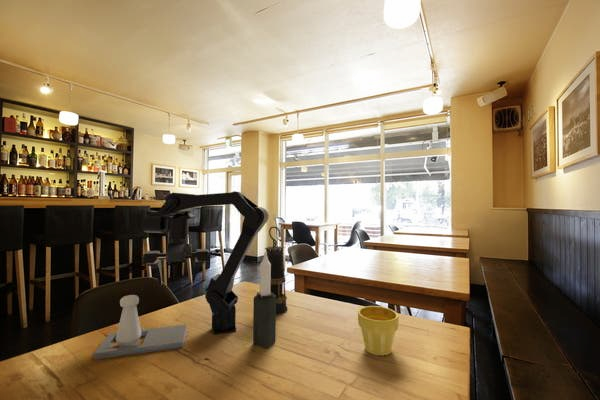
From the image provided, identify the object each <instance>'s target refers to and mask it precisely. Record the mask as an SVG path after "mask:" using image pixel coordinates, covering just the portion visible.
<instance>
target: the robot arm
mask: <svg viewBox="0 0 600 400" xmlns="http://www.w3.org/2000/svg"><path fill="white" fill-rule="evenodd" d="M226 205H227V206H228V205H232V206H234V207H235V209H236V210H237V211H238V213H239V214H241V216H242V217H243V221H242V223H241V224H242V226H241V232H240V235H239V236H238V239H237V240H236V243H235V244H234V247H233V249H232V251H231V253H230V255H229V256H228V258H227V261H226V262H225V265H224V266H223V268H222V270H221V272H220V273H217V274H216V275H214V276H212V277H211V278H210V279H209V283H208V286H207V287H206V288H205V289H204V291H205V296H204V297H205V300H206V302H207V304H208V305H209V307H210V310H211V311H210V312H211V330H213V334H214V335H216V334H217V335H218V334H225V333H232V332H237V326H236V319H237V318H236V313H237V312H236V311H237V310H236V309H237V308H236V305H237V303H238V300H239V296H238V295H237V294H236V293H235V292H234V291H233V288H234V283H235V276H236V274H237V273H238V271H239V268H240V267H241V264H242V263H243V261H244V259H245V256H246V255H247V252H248V250H249V248H250V246H251V245H252V243H253V241H254V239H255V237H256V236H257V235H258V233H260V231H261V230H262V229H263V228H264V226H265V224H267V222H268V220H269V212H268V210H267V209H266V208H265V207H262V206H258V205H257V204H256V203H255V202H253V201H252V200H251V199H249V198H248V197H247V196H246V195H244V194H243V192H241V191H236V190H235V191H231V192H221V193H220V192H218V193H205V194H193V193H182V192H171V193H168V195H167V196H166V198H165V201H164V202H163V204H162V205H161V207H160V208H159V210H158V211H157V210H147V211H146V213H145V215H144V216H143V218H142V222H141V229H142V231H143V232H144V233H153V234H156V233H157V234H165V233H166V232H167V244H166V247H165V249H166V250H165V253H164V252H163V253H161V251H160V250H147V251H146V252H145V253H144V254H143V255H142V256H141V263H142V264H143V265H144V264H147V267H151V268H152V269H153V271H154V273H155V276H156V278H157V281H158V283H159V285H160V286H162V285H163V272H162V271H163V270H162V260H165V261H166V262H167V263H172V262H179V263H180V262H184V261H185V259H195V261H194V267H193V271H192V283H193V284H194V283H195V281H196V278H197V276H198V271H199V269H200V267H201V265H202V264H205V263H206V262H207V261H210V249H208V248H198V249H197V248H196V251H192V249H193V245H192V243H189V220H193V219H195V218H196V216H195V215H194V214H193V213H191V211H190V210H194V209H197V208H201V207H210V206H211V207H213V206H215V207H216V206H226ZM180 212H184V213H180ZM171 215H172V216H171Z"/></svg>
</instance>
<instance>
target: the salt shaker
mask: <svg viewBox="0 0 600 400" xmlns="http://www.w3.org/2000/svg"><path fill="white" fill-rule="evenodd" d="M139 302H140V297H139V296H138V295H137V294H136V295H135V294H129V295H125V296H122V298H120V300H119V304H120V307H121V308H122V310H121V315H120V319H119V324H118V327H117V331H116V332H117V335H116V340H115V342H116V343H117V345H118V348H119V347H127V346H135V345H139V341H140V339H141V338H142V337H141V330H142V329H141V324H140V319H139V313H138V308H137V307H138V306H137V305H138V304H139Z"/></svg>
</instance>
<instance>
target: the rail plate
mask: <svg viewBox="0 0 600 400" xmlns="http://www.w3.org/2000/svg"><path fill="white" fill-rule="evenodd" d="M186 333H187V324H180V325H170V326H161V327H154V328H153V327H152V328H144V329H141V337H140V338H144V339H143V341H142V344H137V345H135V346H127V347H119V346H118V347H114V348H113V347H112V346H113V345H114V343H115V342H116V335H117V331H116V332H109V333H108V334H107V336H106V337H105V338H104V340H103V341H102V342H101V343H100V345H99V346H98V348H97V349H96V350H95V351H94V353H93V360H94V361H95V360H96V361H97V360H102V359H108V358H117V357H118V358H119V357H123V356H124V357H125V356H131V355H138V354H140V355H141V354H147V353H153V352H160V351H167V350H176V349H182V348H184V344H185V338H186Z"/></svg>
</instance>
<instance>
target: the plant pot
mask: <svg viewBox="0 0 600 400" xmlns="http://www.w3.org/2000/svg"><path fill="white" fill-rule="evenodd" d="M357 324H358V326H359V327H360V329H361V333H362V338H363V343H364V349H365V350H366V352H368V353H369V354H371V355H373V354H374V356H377V355H381V356H380V357H385V356H384V355H386V356H388V354H389V355H390V354H391V352H392V350H393V344H394V339H395V335H396V332H397V331H398V330H399V315H398V313H397V312H396V311H395V310H393V309H391V308H389V307H386V306H379V305H378V306H377V305H368V306H363V307H360V308H359V309H358V311H357ZM382 355H383V356H382Z"/></svg>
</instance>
